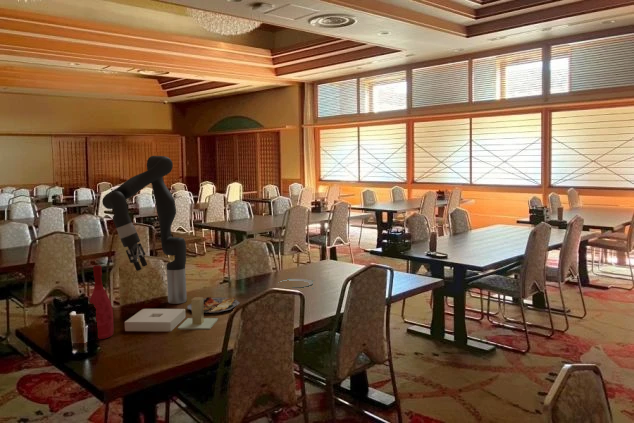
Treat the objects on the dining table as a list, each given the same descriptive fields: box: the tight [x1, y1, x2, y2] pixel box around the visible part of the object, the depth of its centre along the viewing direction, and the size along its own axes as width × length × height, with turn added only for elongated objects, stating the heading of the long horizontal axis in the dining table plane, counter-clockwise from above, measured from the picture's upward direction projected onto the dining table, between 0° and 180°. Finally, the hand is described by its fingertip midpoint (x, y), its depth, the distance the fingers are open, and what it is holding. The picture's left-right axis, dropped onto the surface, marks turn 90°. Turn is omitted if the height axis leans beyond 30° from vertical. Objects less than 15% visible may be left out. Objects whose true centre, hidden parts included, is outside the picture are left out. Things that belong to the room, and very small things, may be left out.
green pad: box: [177, 317, 219, 330], centre depth 239 cm, size 14×14×1 cm
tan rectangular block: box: [190, 296, 205, 324], centre depth 239 cm, size 5×4×11 cm
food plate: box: [186, 296, 241, 314], centre depth 265 cm, size 25×23×4 cm
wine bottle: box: [89, 264, 115, 340], centre depth 224 cm, size 10×10×30 cm
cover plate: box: [124, 308, 187, 332], centre depth 240 cm, size 20×20×4 cm
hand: (142, 268), depth 244 cm, fingers open, 8 cm apart
